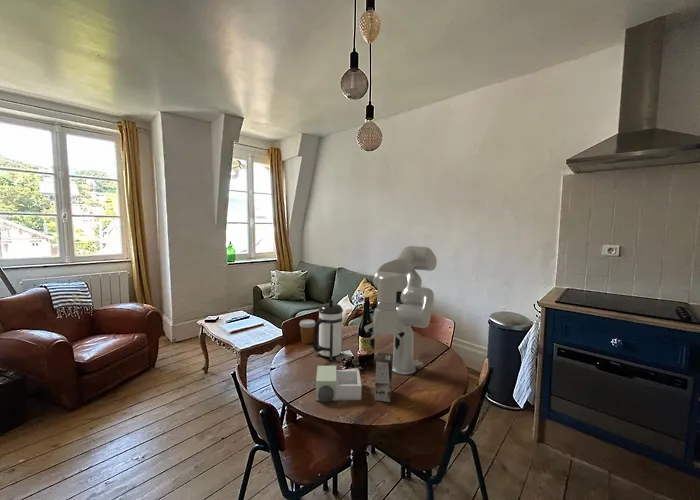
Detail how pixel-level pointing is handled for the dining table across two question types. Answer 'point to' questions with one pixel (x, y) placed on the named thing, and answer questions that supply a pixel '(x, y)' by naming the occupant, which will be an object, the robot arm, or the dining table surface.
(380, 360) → the coffee box
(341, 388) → the pale green boxy shape
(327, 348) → the coffee press
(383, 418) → the dining table surface
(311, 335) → the disposable coffee cup
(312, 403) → the dining table surface
